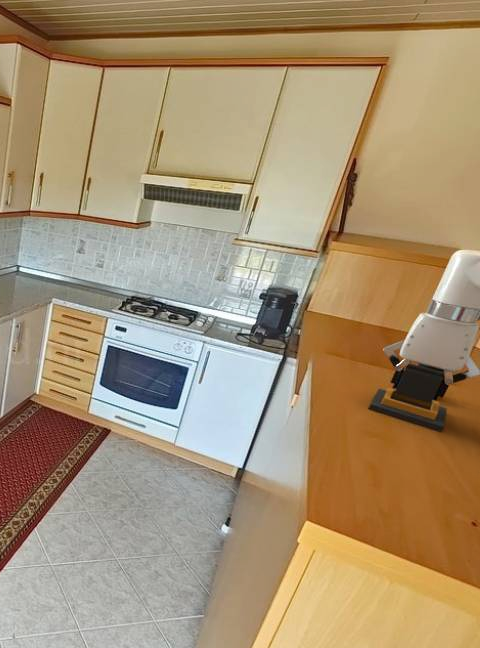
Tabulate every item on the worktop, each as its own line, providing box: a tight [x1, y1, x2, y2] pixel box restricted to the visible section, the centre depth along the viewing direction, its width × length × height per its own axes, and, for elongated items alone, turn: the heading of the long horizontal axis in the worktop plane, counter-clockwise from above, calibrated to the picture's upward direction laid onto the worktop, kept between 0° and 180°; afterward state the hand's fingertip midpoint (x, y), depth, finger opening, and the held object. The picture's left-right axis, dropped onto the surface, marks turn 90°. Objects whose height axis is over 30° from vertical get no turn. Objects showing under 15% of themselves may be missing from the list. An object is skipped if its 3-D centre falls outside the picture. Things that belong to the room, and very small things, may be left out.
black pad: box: [395, 363, 444, 404], centre depth 104 cm, size 6×6×6 cm
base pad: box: [368, 387, 448, 433], centre depth 106 cm, size 14×12×3 cm
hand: (414, 392), depth 105 cm, fingers closed on black pad, 6 cm apart
